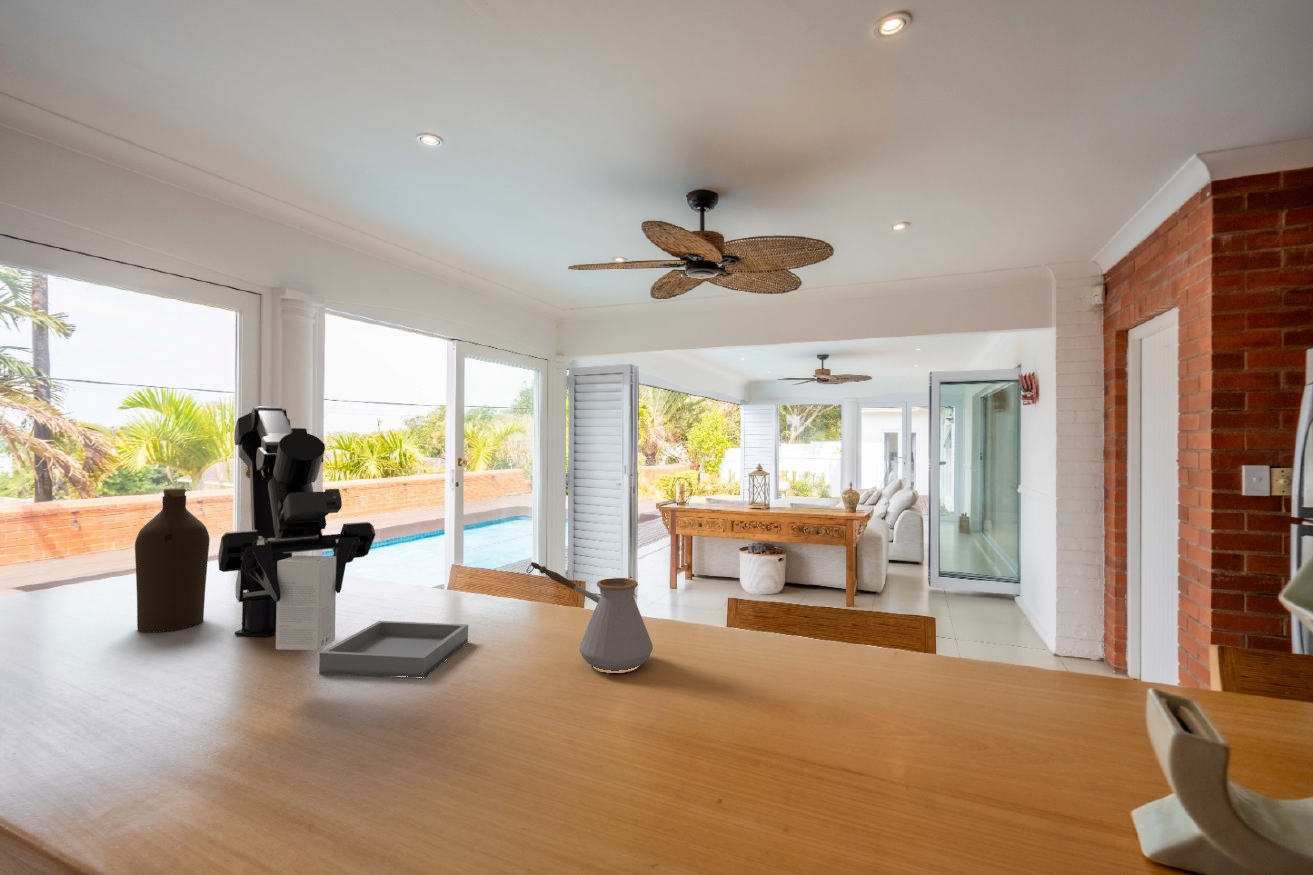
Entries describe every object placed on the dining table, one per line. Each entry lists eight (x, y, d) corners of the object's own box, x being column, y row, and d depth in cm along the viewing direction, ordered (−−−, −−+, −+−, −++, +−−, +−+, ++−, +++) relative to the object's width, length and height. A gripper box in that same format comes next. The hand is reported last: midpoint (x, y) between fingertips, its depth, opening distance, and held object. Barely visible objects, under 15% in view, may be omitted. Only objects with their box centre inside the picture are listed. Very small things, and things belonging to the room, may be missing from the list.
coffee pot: (661, 656, 96) (662, 564, 97) (639, 683, 85) (640, 579, 86) (543, 642, 103) (544, 555, 103) (508, 665, 92) (510, 568, 92)
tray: (319, 673, 87) (319, 652, 87) (378, 637, 103) (379, 620, 103) (423, 678, 86) (424, 657, 86) (467, 642, 102) (468, 624, 102)
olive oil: (219, 621, 111) (222, 488, 111) (150, 637, 101) (153, 491, 102) (189, 613, 116) (192, 485, 116) (121, 628, 106) (124, 488, 107)
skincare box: (336, 640, 84) (338, 555, 84) (318, 651, 79) (320, 561, 79) (293, 639, 84) (295, 554, 84) (273, 650, 79) (275, 560, 79)
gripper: (223, 471, 78) (232, 570, 70) (373, 469, 91) (396, 552, 83) (214, 523, 84) (222, 620, 76) (356, 514, 97) (376, 597, 88)
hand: (309, 595), depth 81 cm, fingers closed on skincare box, 7 cm apart
